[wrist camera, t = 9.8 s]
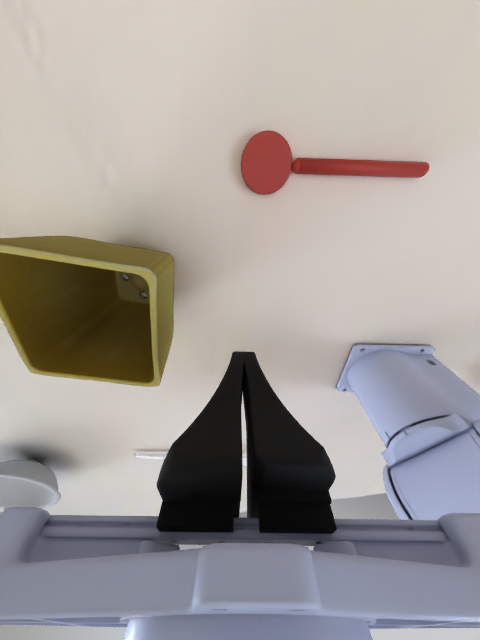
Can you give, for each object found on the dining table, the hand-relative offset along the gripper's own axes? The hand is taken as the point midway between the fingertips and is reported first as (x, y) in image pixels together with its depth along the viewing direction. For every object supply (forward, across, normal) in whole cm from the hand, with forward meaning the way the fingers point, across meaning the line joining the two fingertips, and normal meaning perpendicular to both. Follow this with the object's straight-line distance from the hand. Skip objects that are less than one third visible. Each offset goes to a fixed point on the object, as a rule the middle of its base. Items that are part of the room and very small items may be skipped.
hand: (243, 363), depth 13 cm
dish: (+9, +39, +35) cm, 53 cm away
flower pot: (+9, +10, -2) cm, 14 cm away
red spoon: (+9, -6, -11) cm, 16 cm away
